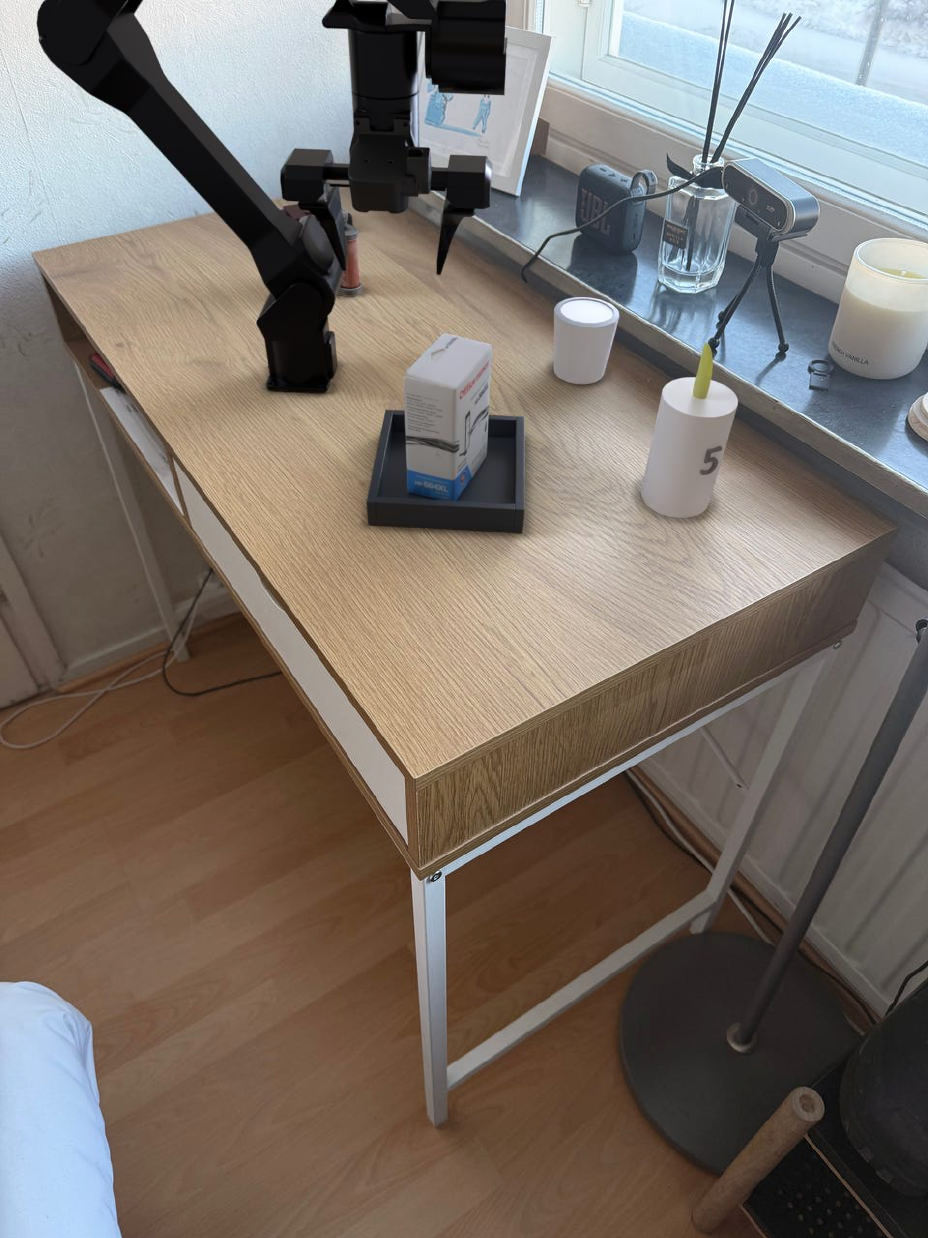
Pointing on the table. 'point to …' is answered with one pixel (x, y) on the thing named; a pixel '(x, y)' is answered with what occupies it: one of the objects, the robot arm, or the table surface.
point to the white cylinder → (583, 338)
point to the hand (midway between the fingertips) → (392, 271)
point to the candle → (688, 442)
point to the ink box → (447, 416)
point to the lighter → (351, 276)
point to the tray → (481, 504)
